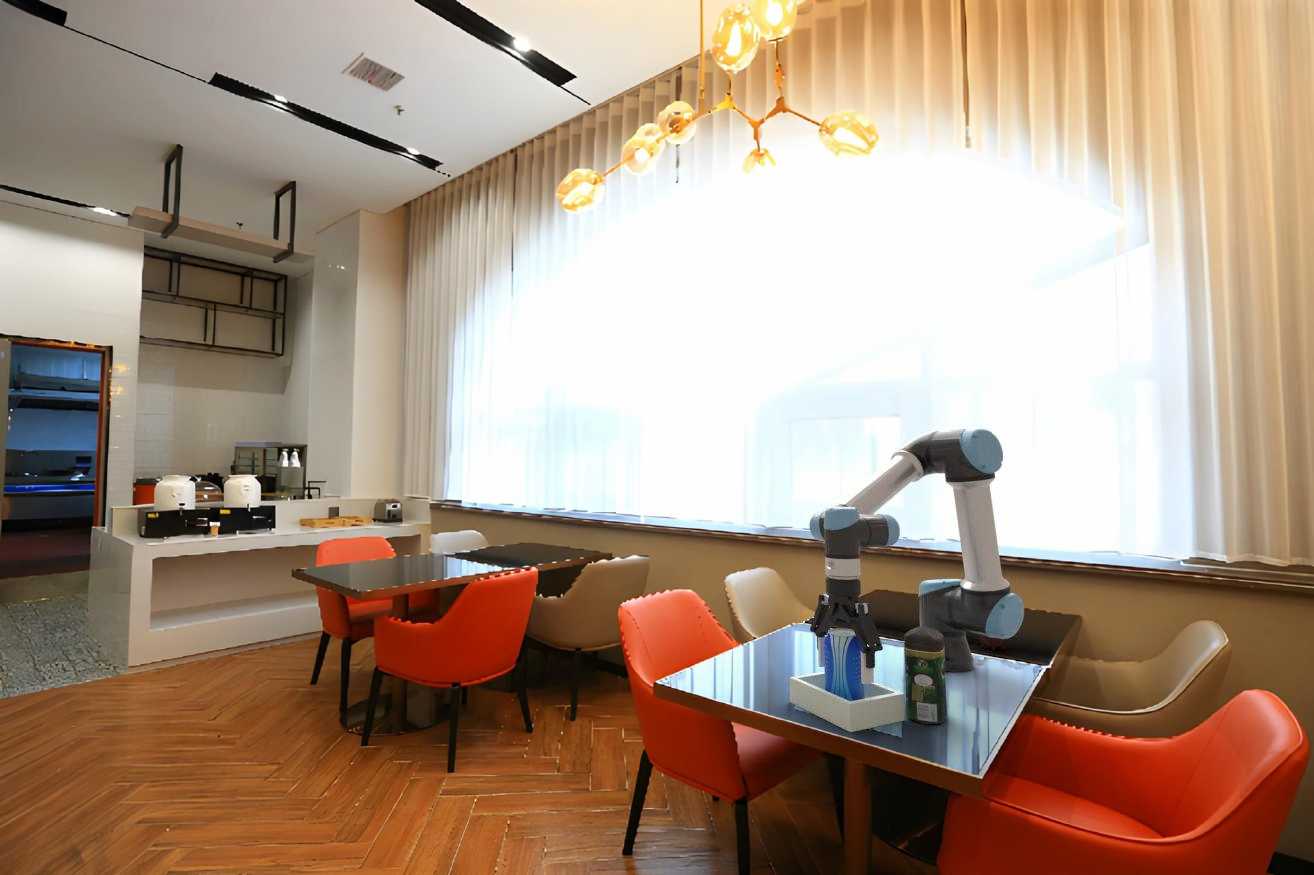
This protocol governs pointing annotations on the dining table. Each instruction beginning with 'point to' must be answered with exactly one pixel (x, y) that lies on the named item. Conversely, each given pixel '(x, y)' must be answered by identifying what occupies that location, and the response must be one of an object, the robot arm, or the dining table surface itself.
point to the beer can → (843, 664)
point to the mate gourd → (992, 642)
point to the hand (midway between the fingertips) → (845, 674)
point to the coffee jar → (925, 675)
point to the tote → (848, 703)
